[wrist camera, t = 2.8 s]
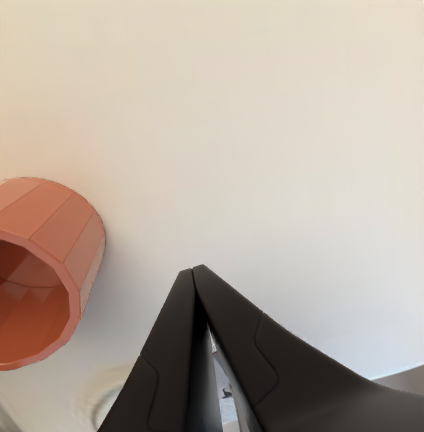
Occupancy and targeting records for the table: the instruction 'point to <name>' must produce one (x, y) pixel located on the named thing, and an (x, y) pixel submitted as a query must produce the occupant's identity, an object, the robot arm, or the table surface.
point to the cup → (44, 267)
